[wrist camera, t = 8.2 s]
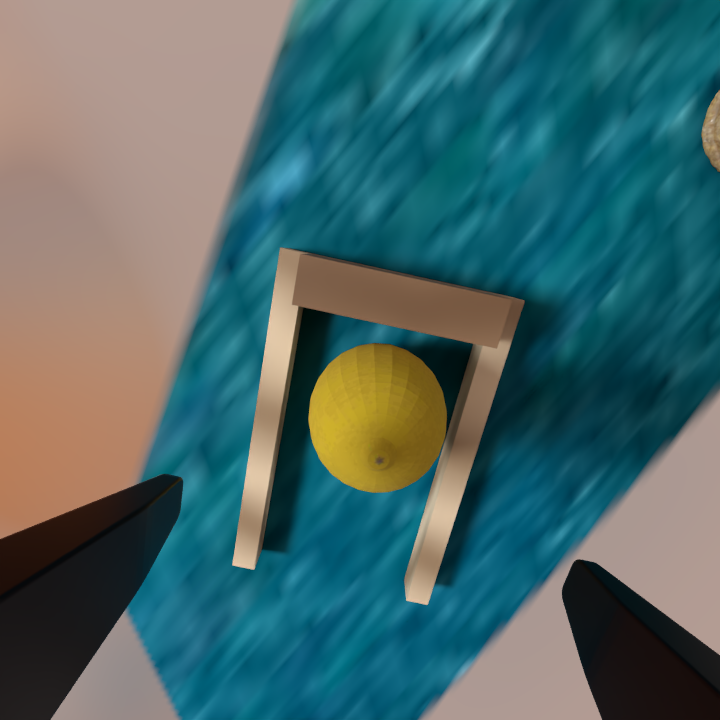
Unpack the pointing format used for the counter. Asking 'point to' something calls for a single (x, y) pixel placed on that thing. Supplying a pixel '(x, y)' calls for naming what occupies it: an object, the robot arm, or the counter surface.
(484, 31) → the counter surface
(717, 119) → the sprinkles bottle
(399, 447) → the lemon
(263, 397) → the channel
